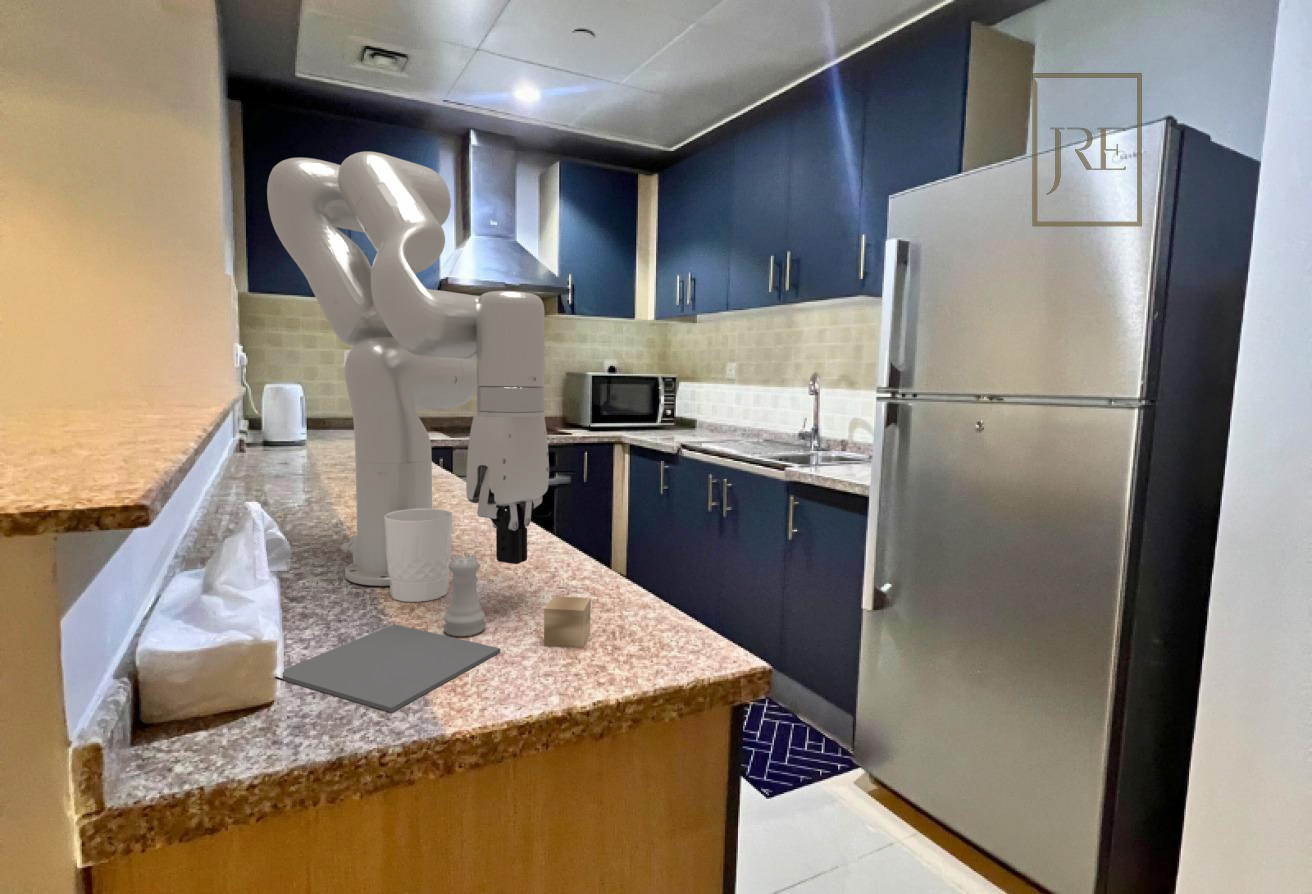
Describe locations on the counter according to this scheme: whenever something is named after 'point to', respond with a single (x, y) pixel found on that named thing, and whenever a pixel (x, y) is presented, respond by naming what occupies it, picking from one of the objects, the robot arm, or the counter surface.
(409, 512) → the white cup
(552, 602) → the oak block
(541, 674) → the counter surface
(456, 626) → the rook chess piece
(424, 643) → the mat
